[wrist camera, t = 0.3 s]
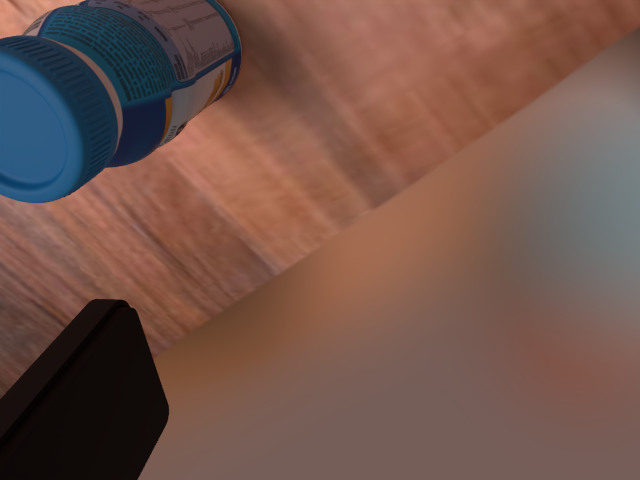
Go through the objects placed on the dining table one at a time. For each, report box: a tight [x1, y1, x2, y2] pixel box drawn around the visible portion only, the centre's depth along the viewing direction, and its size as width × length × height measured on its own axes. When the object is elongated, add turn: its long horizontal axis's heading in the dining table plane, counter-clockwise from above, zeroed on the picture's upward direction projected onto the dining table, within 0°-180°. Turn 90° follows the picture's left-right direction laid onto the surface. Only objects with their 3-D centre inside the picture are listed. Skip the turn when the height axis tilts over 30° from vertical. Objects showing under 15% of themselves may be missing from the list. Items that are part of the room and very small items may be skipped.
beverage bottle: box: [0, 0, 242, 203], centre depth 29 cm, size 8×8×20 cm
